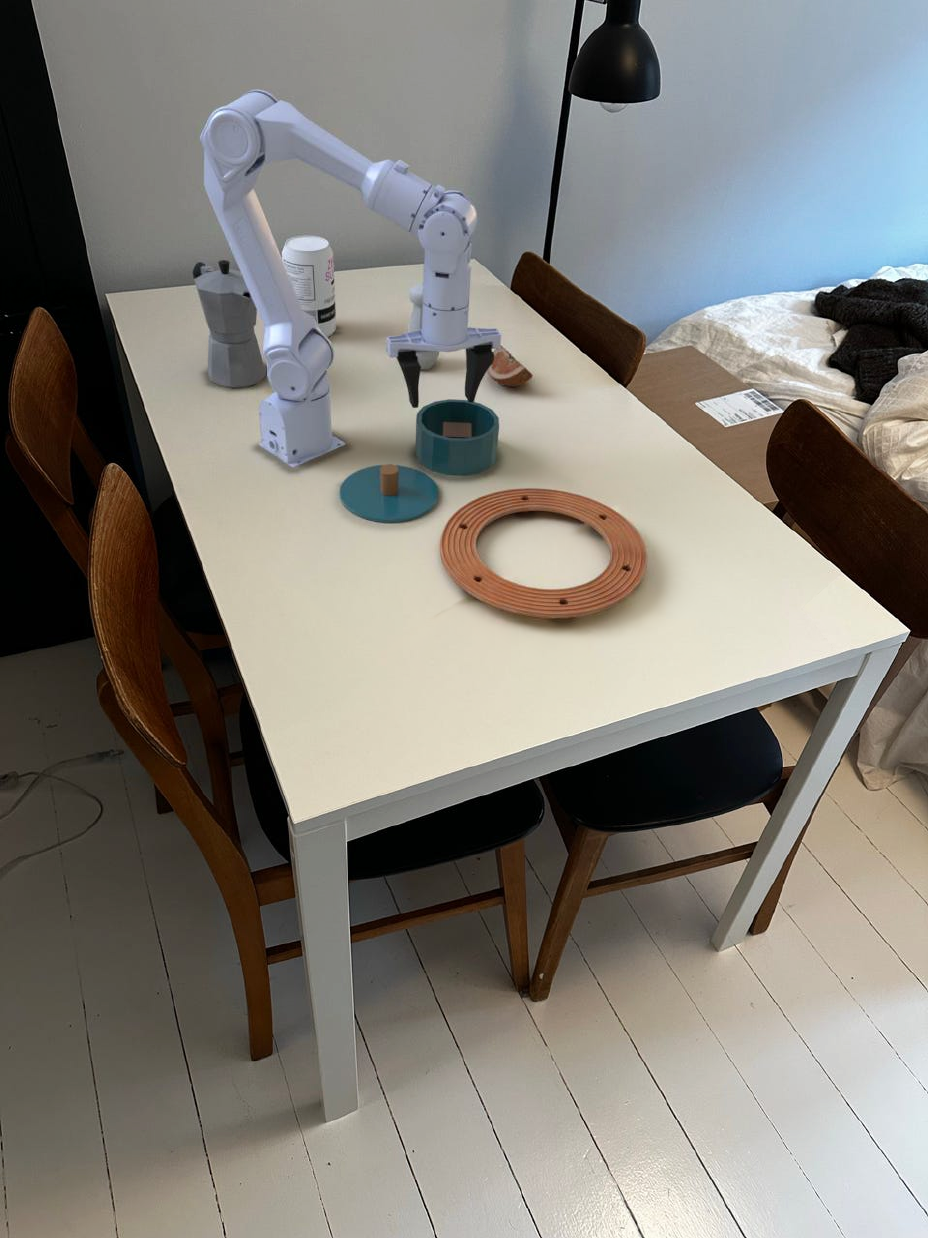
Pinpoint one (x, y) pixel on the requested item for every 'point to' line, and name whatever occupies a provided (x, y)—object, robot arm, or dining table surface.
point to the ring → (535, 602)
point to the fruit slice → (507, 369)
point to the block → (457, 430)
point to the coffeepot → (229, 326)
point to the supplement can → (312, 278)
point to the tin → (456, 452)
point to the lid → (389, 493)
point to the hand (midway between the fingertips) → (441, 401)
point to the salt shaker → (420, 325)
